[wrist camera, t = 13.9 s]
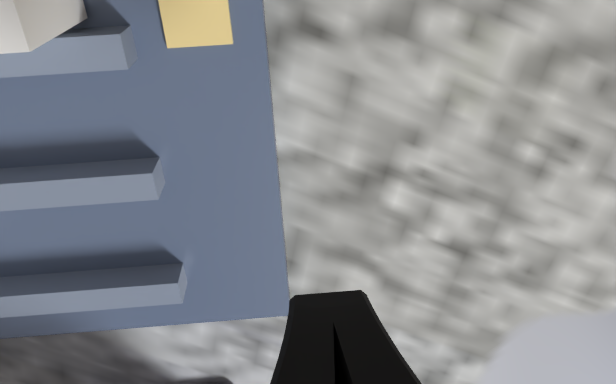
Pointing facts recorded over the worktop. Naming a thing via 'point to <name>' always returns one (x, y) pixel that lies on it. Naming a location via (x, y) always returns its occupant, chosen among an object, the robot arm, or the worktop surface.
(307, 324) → the robot arm
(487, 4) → the worktop surface
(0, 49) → the tab
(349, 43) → the worktop surface
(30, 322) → the switch board
